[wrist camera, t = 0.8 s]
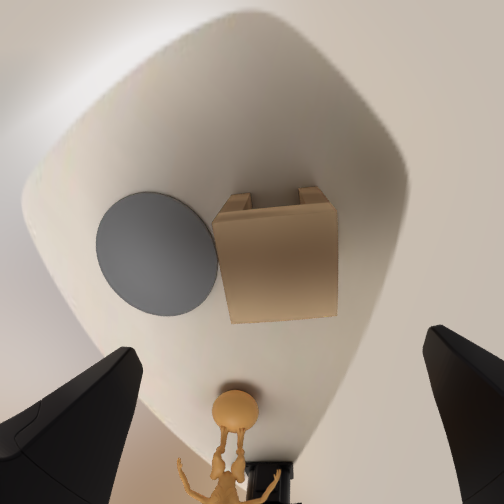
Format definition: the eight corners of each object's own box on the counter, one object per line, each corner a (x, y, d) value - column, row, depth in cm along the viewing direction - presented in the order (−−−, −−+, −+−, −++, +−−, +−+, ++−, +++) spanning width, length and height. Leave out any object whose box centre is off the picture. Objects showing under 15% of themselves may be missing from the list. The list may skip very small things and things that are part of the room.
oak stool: (321, 264, 18) (336, 315, 13) (243, 271, 18) (231, 323, 13) (317, 186, 16) (337, 211, 11) (231, 194, 16) (211, 223, 11)
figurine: (286, 384, 22) (284, 514, 11) (279, 420, 25) (275, 526, 14) (190, 375, 23) (153, 496, 12) (197, 412, 25) (171, 514, 14)
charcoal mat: (228, 311, 20) (227, 314, 19) (120, 313, 21) (118, 316, 20) (203, 181, 16) (202, 182, 16) (85, 204, 17) (82, 206, 17)
